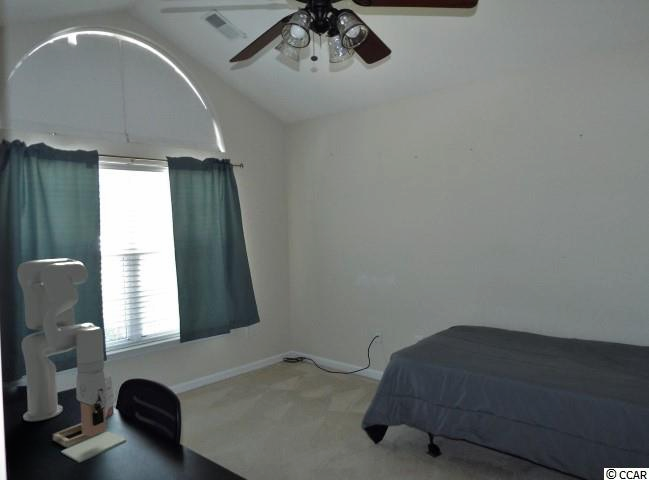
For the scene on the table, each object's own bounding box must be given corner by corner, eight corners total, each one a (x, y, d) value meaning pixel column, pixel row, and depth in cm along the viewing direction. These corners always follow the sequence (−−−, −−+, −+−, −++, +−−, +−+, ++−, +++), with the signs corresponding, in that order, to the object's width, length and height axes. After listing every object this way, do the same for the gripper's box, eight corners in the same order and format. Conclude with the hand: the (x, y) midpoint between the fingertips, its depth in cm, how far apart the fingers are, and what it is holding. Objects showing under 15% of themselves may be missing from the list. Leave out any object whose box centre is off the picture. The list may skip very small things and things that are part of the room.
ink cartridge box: (102, 412, 165) (101, 374, 164) (114, 412, 164) (112, 374, 163) (86, 422, 156) (84, 382, 156) (98, 423, 156) (96, 383, 155)
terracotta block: (82, 433, 137) (80, 402, 137) (97, 426, 142) (96, 396, 141) (90, 436, 135) (88, 405, 134) (105, 430, 139) (104, 399, 138)
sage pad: (61, 452, 135) (61, 450, 135) (107, 432, 148) (107, 431, 148) (79, 462, 129) (79, 460, 129) (126, 441, 142) (126, 439, 142)
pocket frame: (52, 440, 144) (52, 434, 144) (82, 428, 152) (82, 422, 152) (67, 447, 138) (67, 441, 138) (97, 434, 146) (97, 429, 146)
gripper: (65, 365, 139) (68, 420, 140) (93, 373, 130) (96, 433, 130) (88, 358, 145) (91, 411, 146) (117, 366, 136) (119, 423, 136)
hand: (93, 421), depth 138 cm, fingers closed on terracotta block, 5 cm apart
